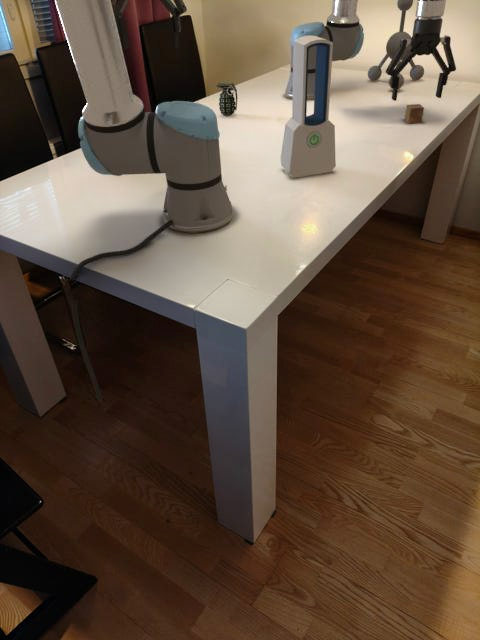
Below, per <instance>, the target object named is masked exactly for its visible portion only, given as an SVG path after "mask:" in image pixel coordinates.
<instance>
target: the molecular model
mask: <svg viewBox="0 0 480 640" xmlns="http://www.w3.org/2000/svg"><path fill="white" fill-rule="evenodd" d="M396 5H397V8H398V10H399V11H401V15H400V21H399V22H400V23H399V28H398V29H399V30H398V31H397V32H394V33H393V34H392V35H391V36H390V37H389V38H388V40H387V42H386V45H385V52H386V53H385V55H384V57H382V59H381V61H380V62H379V64H378V65H371V67H370V68H369V69H368V70H367V78H368V79H369V80H370V81H372V82H376V81H378V80H379V79H380V78H381V77H382V72H383V71H382V67H383V65H384V64H385V63H386V61H387V60H388V59H390V60H392V59H393V57H394V55H395V53H396V51H397V50H398V48H399V45H400V41H401V39H402V38H405V39H411V38H412V36H411V35H410V34H409V33H408V32H407V31H404V28H405V22H406V14H407V11H409V10H410V9H411V8H412V6H413V5H414V0H397V2H396ZM411 48H412V47H411V45H410V44H409V45H408V47H406V48H405V50H404V52H403V54H402V56H401V58H400V59H399V61H398V63H397V65H398V64H399V63H400V62H401V61H402V60H403V58H404V57H405V56H406V55H407V54H408V52H409V51H410V49H411ZM408 64H409V65H410V67H411V68H410V70H409V78H410V79H411V80H413V81H419V80H421V78H423V77H424V74H425V68H424V67H423V65H421V64H416V63H415V61H414V60H413V58H412V59H411V60H410V62H409V63H408ZM397 65H396V67H397ZM396 67H395V68H396ZM397 76H398V77H400V78H399V85H398V90H399V89H401V88H402V87H403V86H404V85H405V77H404V76H403V74H401V72H400V73H399V74H398V75H397ZM390 83H391V76H390V77H389V79H388V86H390Z"/></svg>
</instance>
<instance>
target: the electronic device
mask: <svg viewBox="0 0 480 640" xmlns="http://www.w3.org/2000/svg"><path fill="white" fill-rule="evenodd" d="M314 46H317V48H316V71H315V95H314V99H313V100H314V101H313V113H312V114H310V115H307V112H308V111H307V106H308V100H307V82H308V52H309V48H311V47H314ZM332 52H333V42H331V41H328V40H325V39H323V38H320V37H317V36H311V35H309V36H303V37H300V38H298V39H296V40H294V41H293V99H291V100H292V102H291V103H292V104H291V105H292V106H291V109H292V110H291V111H292V113H291V118H289V119H288V120H287V121H286V123H285V124H284V129H283V130H284V131H283V137H282V145H281V151H280V152H281V153H280V165H281V167H282V168H283V169H284V170H285V171H286V172H287V173H288V174H289V175H290V176H291V177H292V178H294V179H295V178H301V177H307V176H313V175H314V176H315V175H319V174H326V173H332V172H333V170H334V169H335V168H336V127H335V124H334V123H333V122H332V121H330V120H329V117H330V116H329V115H330V98H331V83H332V81H331V80H332V68H333V67H332V65H333V61H332Z"/></svg>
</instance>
